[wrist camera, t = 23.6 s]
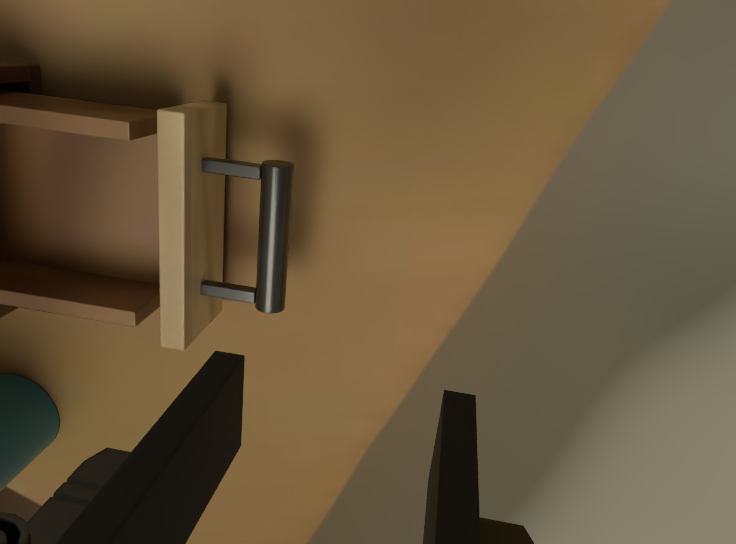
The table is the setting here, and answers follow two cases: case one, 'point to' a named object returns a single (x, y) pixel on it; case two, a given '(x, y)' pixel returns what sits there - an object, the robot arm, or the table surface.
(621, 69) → the table surface
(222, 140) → the drawer
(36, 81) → the cabinet
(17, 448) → the dark teal cylinder
